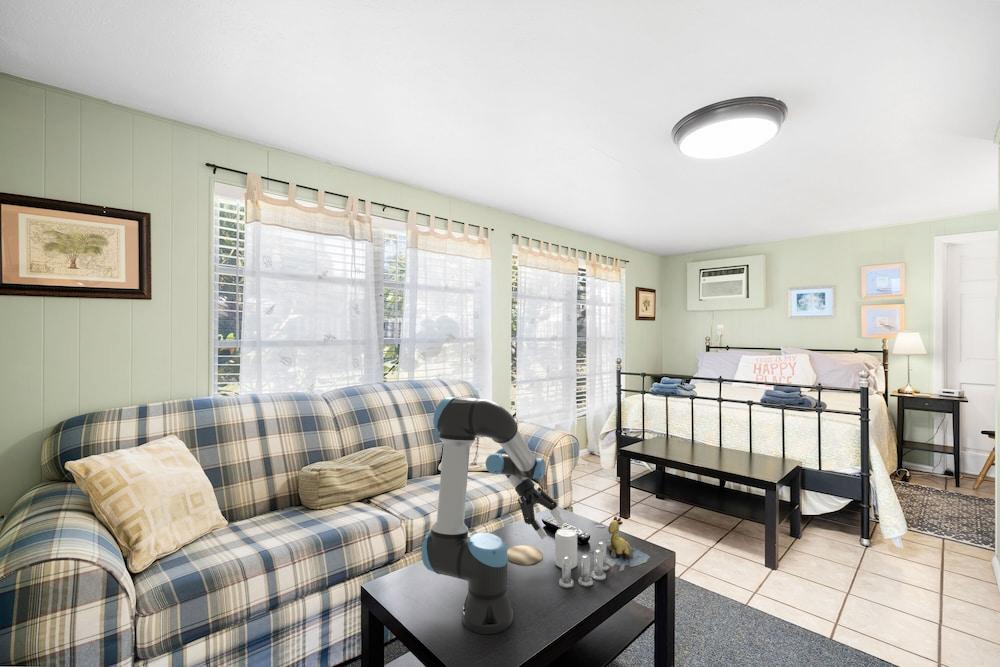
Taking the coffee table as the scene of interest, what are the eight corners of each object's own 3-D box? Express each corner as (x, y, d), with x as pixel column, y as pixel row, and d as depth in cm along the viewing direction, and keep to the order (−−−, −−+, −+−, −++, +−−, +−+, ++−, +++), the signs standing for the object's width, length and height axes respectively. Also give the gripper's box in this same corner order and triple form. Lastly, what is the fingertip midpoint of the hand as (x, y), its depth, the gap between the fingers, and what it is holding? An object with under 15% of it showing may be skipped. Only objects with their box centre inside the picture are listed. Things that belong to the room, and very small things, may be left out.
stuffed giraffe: (589, 552, 174) (592, 512, 174) (623, 543, 183) (625, 505, 183) (619, 573, 160) (622, 529, 160) (654, 562, 169) (657, 521, 169)
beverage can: (578, 570, 161) (578, 537, 161) (556, 570, 161) (556, 537, 161) (575, 559, 169) (575, 527, 169) (553, 559, 169) (554, 527, 169)
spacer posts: (587, 597, 144) (587, 569, 144) (556, 584, 151) (556, 558, 151) (615, 568, 162) (615, 543, 162) (587, 558, 169) (587, 534, 169)
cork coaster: (529, 568, 162) (529, 567, 162) (498, 557, 170) (498, 555, 170) (549, 554, 173) (549, 552, 173) (519, 543, 181) (519, 542, 181)
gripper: (533, 479, 190) (563, 524, 181) (497, 496, 170) (529, 548, 161) (543, 469, 187) (575, 514, 178) (508, 485, 167) (542, 537, 158)
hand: (553, 530), depth 169 cm, fingers open, 13 cm apart
